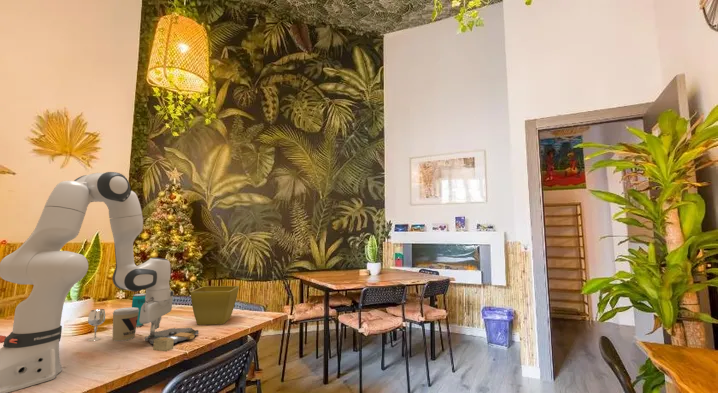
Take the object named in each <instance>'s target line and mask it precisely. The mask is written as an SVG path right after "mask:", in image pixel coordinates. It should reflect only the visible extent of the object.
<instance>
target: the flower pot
mask: <svg viewBox="0 0 718 393" xmlns="http://www.w3.org/2000/svg"><path fill="white" fill-rule="evenodd" d="M239 288H240V287H239V285H206V286H205V285H203V286H202V287H198V288H196V289H194V290H191V291H190V300H191V306H192V311H193V315H194V318H195V322H196V324H197V326H198V325H200V326H201V325H204V326H205V325H207V326H208V325H223V324H225V323H227V321H229V320H230V318H231V316H232V314H233V311H234V308H235V305H236V302H237V298H238V294H239V290H240V289H239Z"/></svg>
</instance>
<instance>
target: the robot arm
mask: <svg viewBox="0 0 718 393" xmlns="http://www.w3.org/2000/svg"><path fill="white" fill-rule="evenodd" d="M139 200H140V199H139V198H138V195H137V193H136V192H135V191H133V190H132V188H131V185H130V182H129V180H128V178H127V177H126V176H125V175H124V174H123V173H120V172H117V171H116V172H115V171H107V172H95V173H90V174H85V175H80V176H79V177H76V179H74V180H62V181H60V182H59V183H57V184H56V186H54V188H53V189H52V191H51V193H50V195H49V196H48V198H47V200H46V203H45V205H44V207H43V209H42V212H41V214H40V217H39V218H38V222H37V223H36V226H35V228H34V229H33V231H32V233H31V234H30V236H28V238H27V239H26V240H25V241H24V242H23V243H22V244H21V245H20V246H19V247H18V248H17V249H16V250H15V251H13V252H12V253H10V254H7V255H6V256H5V257H3V258H2V259H1V261H0V279H2V280H4V281H5V282H9V283H13V284H17V285H30V286H31V285H33V287H32V290H31V292H30V294H29V295H28V297H27V298H25V299H23V300H22V301H20V302H19V303H18V304H17V306H16V307H15V311H14V317H13V324H12V330H11V332H10V333H9V334H8V335H7V336H5V335H0V344H2V347H0V393H11V392H15V391H18V390H21V389H25V388H29V387H31V386H35V385H39V384H42V383H45V382H49V381H51V380H54V379H56V377H57V375H58V374H60V373H61V372H62V370H63V368H62V364H61V357H60V341H61V337H62V332H63V331H62V330H63V326H62V325H61V323H62V317H63V316H62V315H63V310H64V305H65V301H66V298H67V296H68V295H69V292H70V291H71V289H72V288H73V287H74V286H75V285H76V284H77V283H78V282H80V281H81V280H83V278H84V277H85V276H86V275H87V272H88V270H89V262H88V261H89V260H88V259H87V258H86V256H84V254H81V253H77V252H73V251H69V250H62V249H63V247H64V246H66V244H68V242H71V241H72V240H74V239H76V238H77V237H78V235H79V233H80V231H81V228H82V225H83V222H84V219H85V216H86V213H87V210H88V207H89V205H90V204H91V203H94V202H95V203H102V202H103V203H104V204H105V205H106V206H107V209H108V216H109V217H108V218H109V224H110V228H111V233H112V236H113V237H112V239H113V243H114V244H113V245H114V255H115V269H114V271H113V275H112V282H113V285H114V287H116V288H118V289H120V290H126V291H129V292H130V291H131V292H140V291H143V290H145V294H146V296H145V303H144V304H143V305H142V307H141V312H140V319H139V321H140V323H141V324H143V325H144V324H145V325H146V324H150V325H151V324H155V330H157V329H159V328H160V323H161V321H162V317H163V316H165V315H167V314H169V313H170V312H171V311H172V308H173V299H174V298H173V296H174V294H175V291H174V290H171V287H170V279H171V274H172V273H171V272H172V271H171V262H170V260H169V259H167V258H163V257H162V258H161V257H151V258H149V259H148V260H146V261H145V262H143V263H140V264H138V265H136V263H135V256H134V255H135V254H134V242H135V240H136V239H137V237H138V236H139V235H140V234H141V233H142V232H143V230H144V216H143V212H142V211H143V210H142V206H141V204H140V201H139Z"/></svg>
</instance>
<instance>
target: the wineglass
mask: <svg viewBox="0 0 718 393" xmlns="http://www.w3.org/2000/svg"><path fill="white" fill-rule="evenodd" d="M105 321H106V311H105V309H104V308H95V309H92V310H90V311H89V314H88V317H87V323H88V325H91V326H93V327H94V328H93V330H94V335H93V337H92V338H89V339H87V341H88V342H96V341H100V340H101V339H102V337H97V330H98V326H100V325H102V324H103V323H105Z"/></svg>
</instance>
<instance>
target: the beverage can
mask: <svg viewBox="0 0 718 393" xmlns="http://www.w3.org/2000/svg"><path fill="white" fill-rule="evenodd" d="M145 296H146V293H136V294H133V297H132V301H131V307H135V308H138V309H139V313H138V319H137V325H136V328H141V327H143V326H144V324H141V323H140V321H139V319H140V312H141V307H142V305H143V304H144V303H145Z"/></svg>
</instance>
